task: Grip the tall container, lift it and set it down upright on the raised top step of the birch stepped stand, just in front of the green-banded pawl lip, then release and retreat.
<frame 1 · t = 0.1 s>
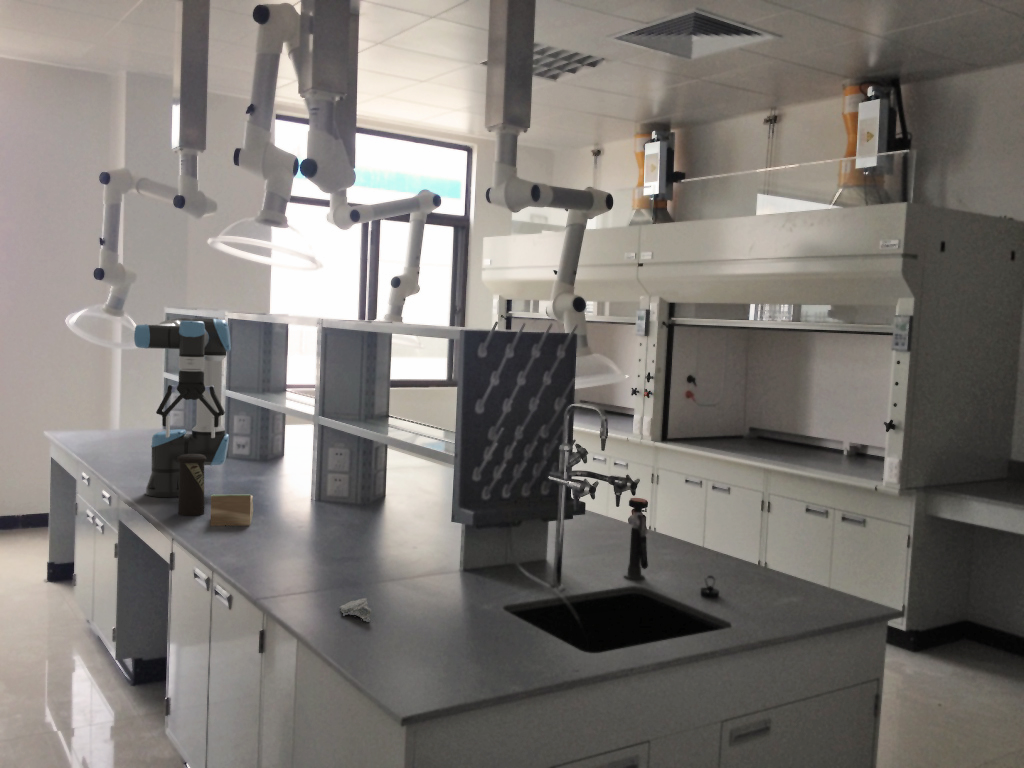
hand: (190, 437, 282), 28 cm above the counter, fingers open, 13 cm apart
container: (191, 513, 299), on the counter
stone: (356, 616, 207), on the counter
stand: (232, 520, 292), on the counter
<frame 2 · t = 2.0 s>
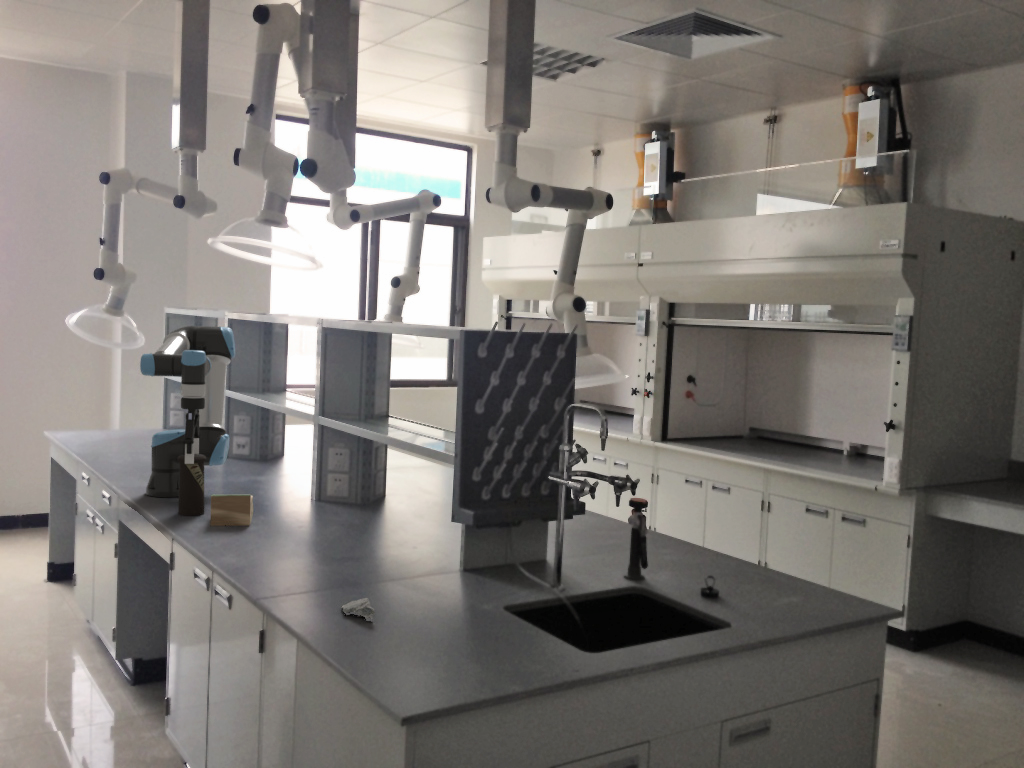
hand: (191, 460, 298), 18 cm above the counter, fingers open, 13 cm apart
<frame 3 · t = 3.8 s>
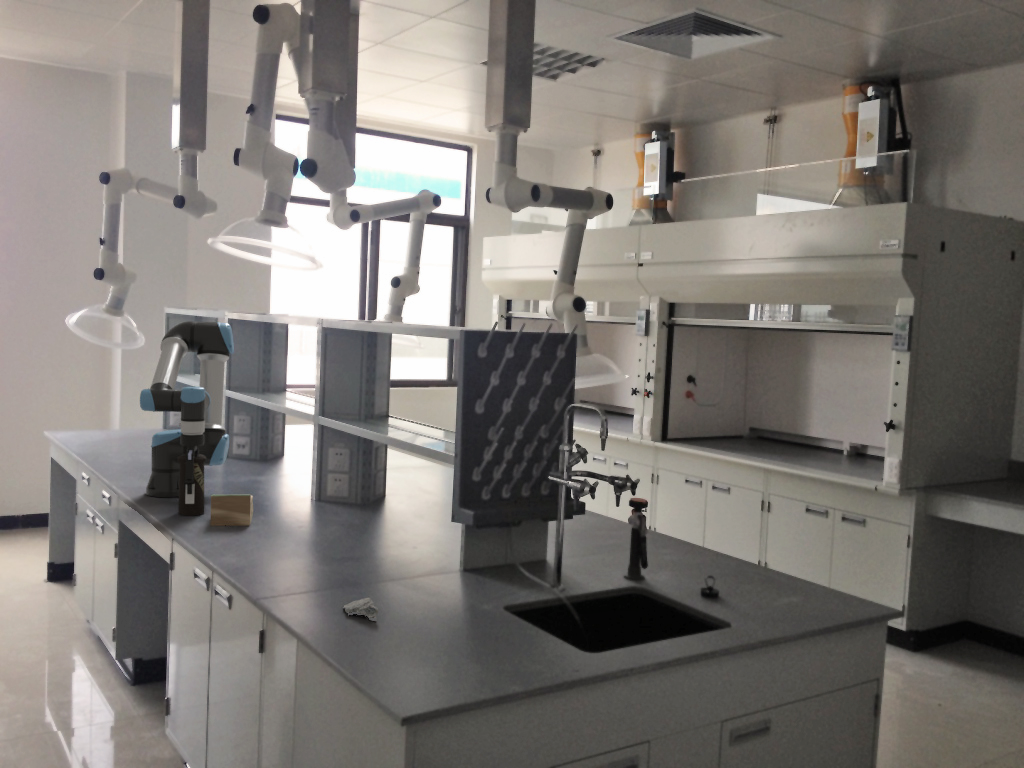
hand: (191, 500, 299), 4 cm above the counter, fingers closed on container, 8 cm apart
container: (191, 513, 299), on the counter, touching gripper
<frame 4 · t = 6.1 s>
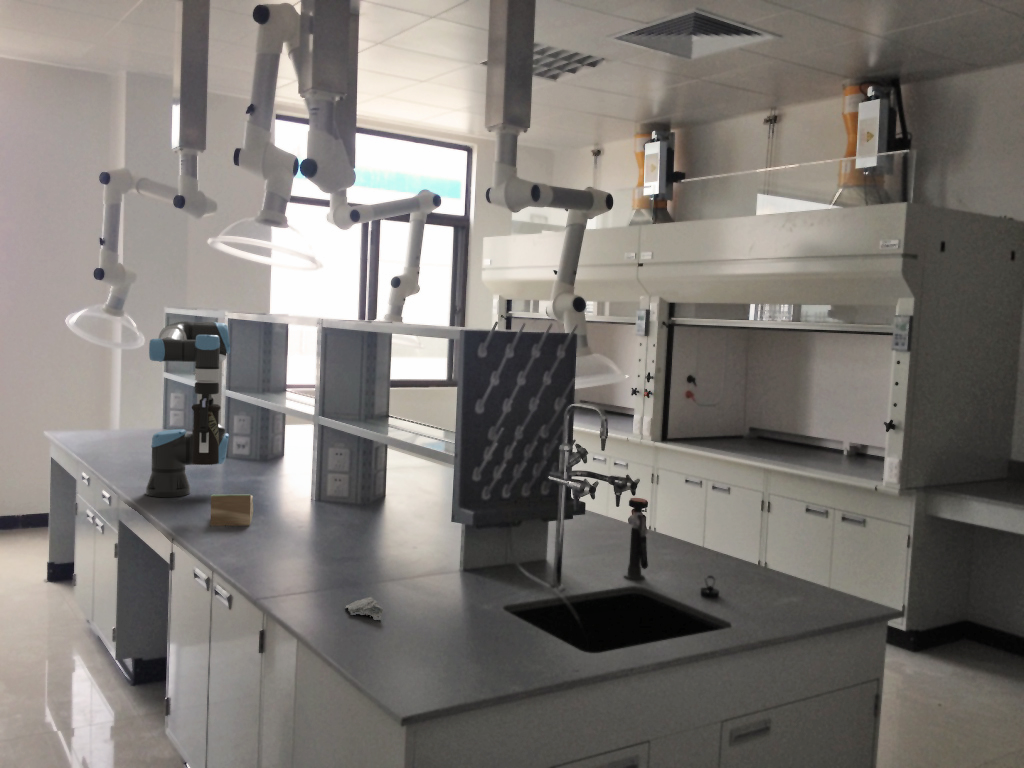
hand: (205, 450, 294), 22 cm above the counter, fingers closed on container, 8 cm apart
container: (205, 464, 295), point 17 cm above the counter, touching gripper
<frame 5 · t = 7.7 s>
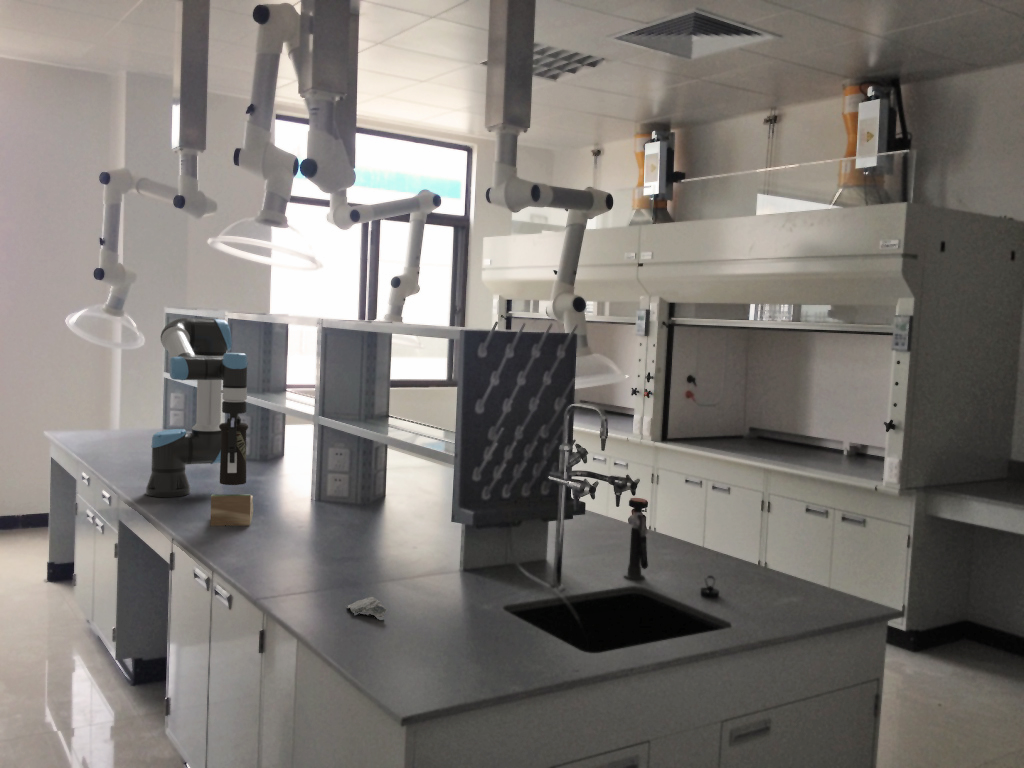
hand: (233, 470, 291), 17 cm above the counter, fingers closed on container, 8 cm apart
container: (232, 483, 291), point 12 cm above the counter, touching gripper
when the fingers open (13 cm above the counter, at t = 8.8 s): container drops 1 cm, resting on stand.
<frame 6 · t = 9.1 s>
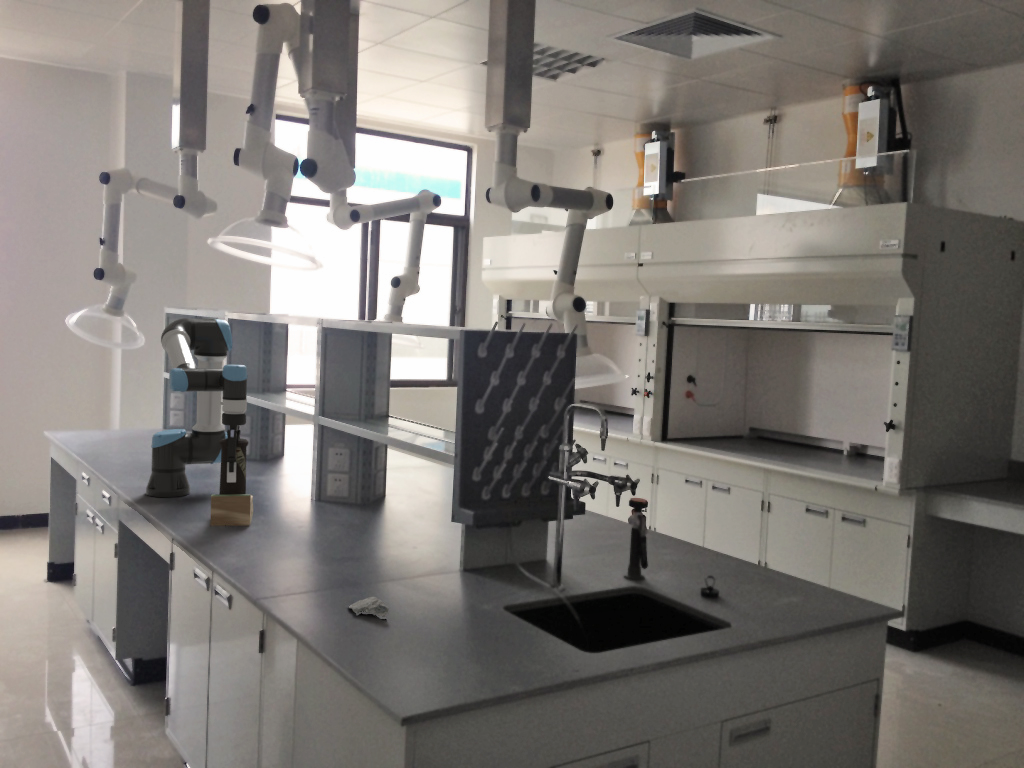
hand: (232, 478, 291), 14 cm above the counter, fingers open, 12 cm apart
container: (232, 499, 291), point 7 cm above the counter, touching stand
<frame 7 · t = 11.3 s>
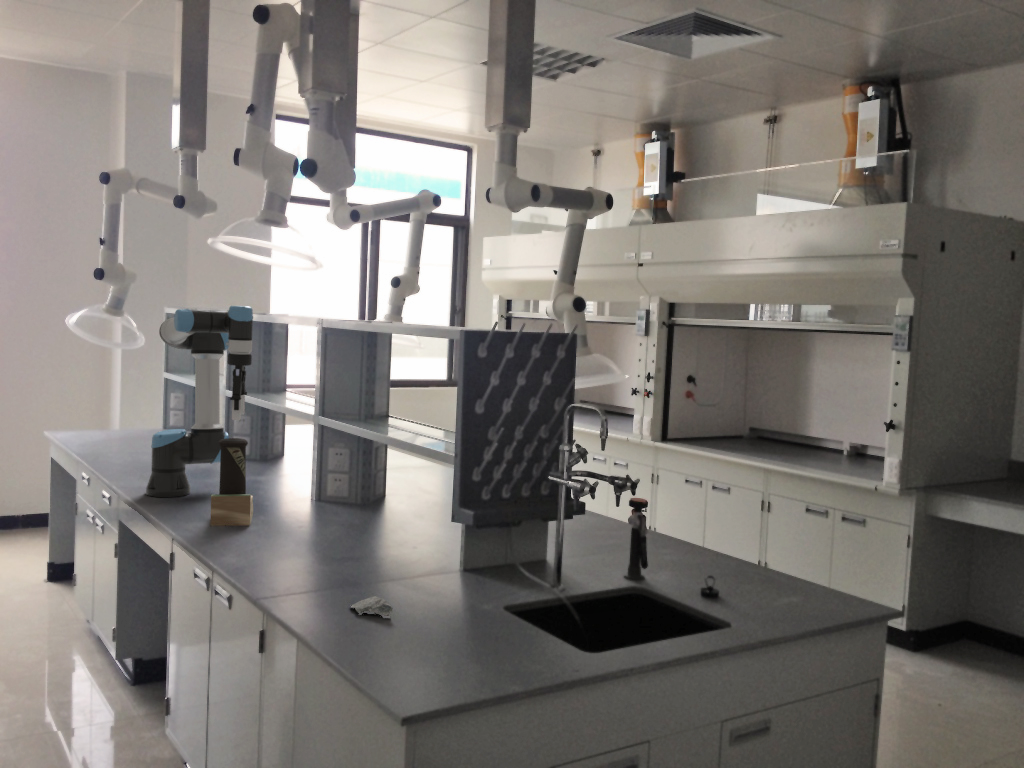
hand: (238, 417, 295), 33 cm above the counter, fingers open, 13 cm apart
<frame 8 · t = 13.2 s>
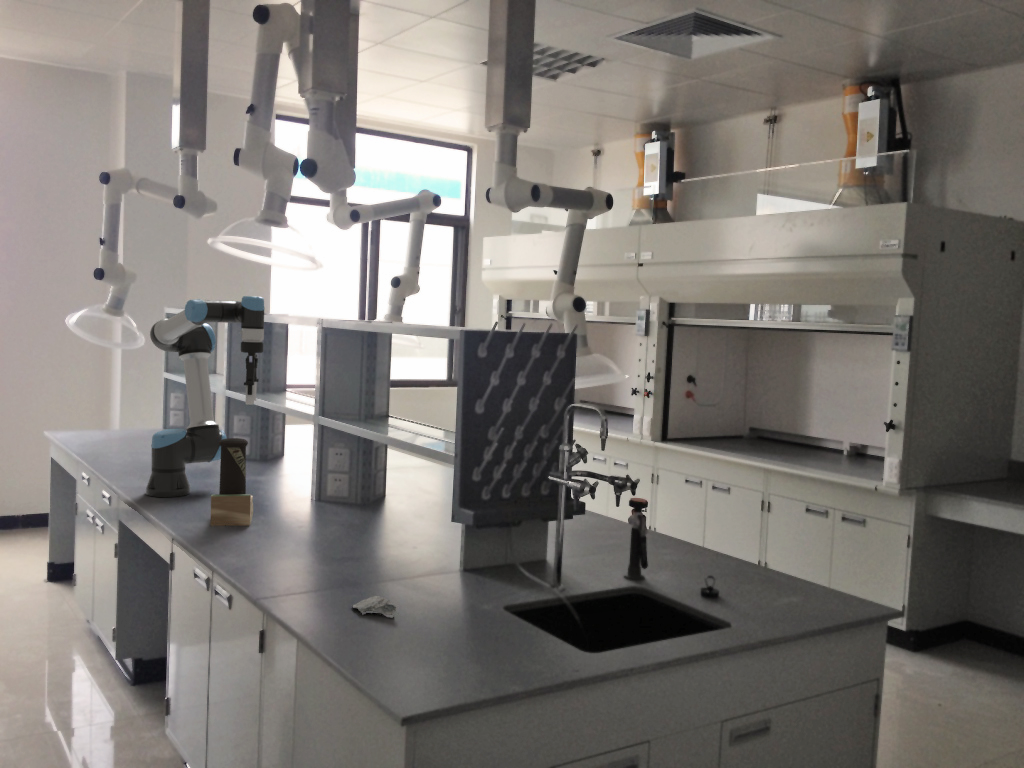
hand: (250, 402, 309), 37 cm above the counter, fingers open, 13 cm apart
at the end: container inside the target area on the stand (0.3 cm from its centre), point 6.8 cm above the stand's base; container tilted 0°; the gripper is holding nothing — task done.
